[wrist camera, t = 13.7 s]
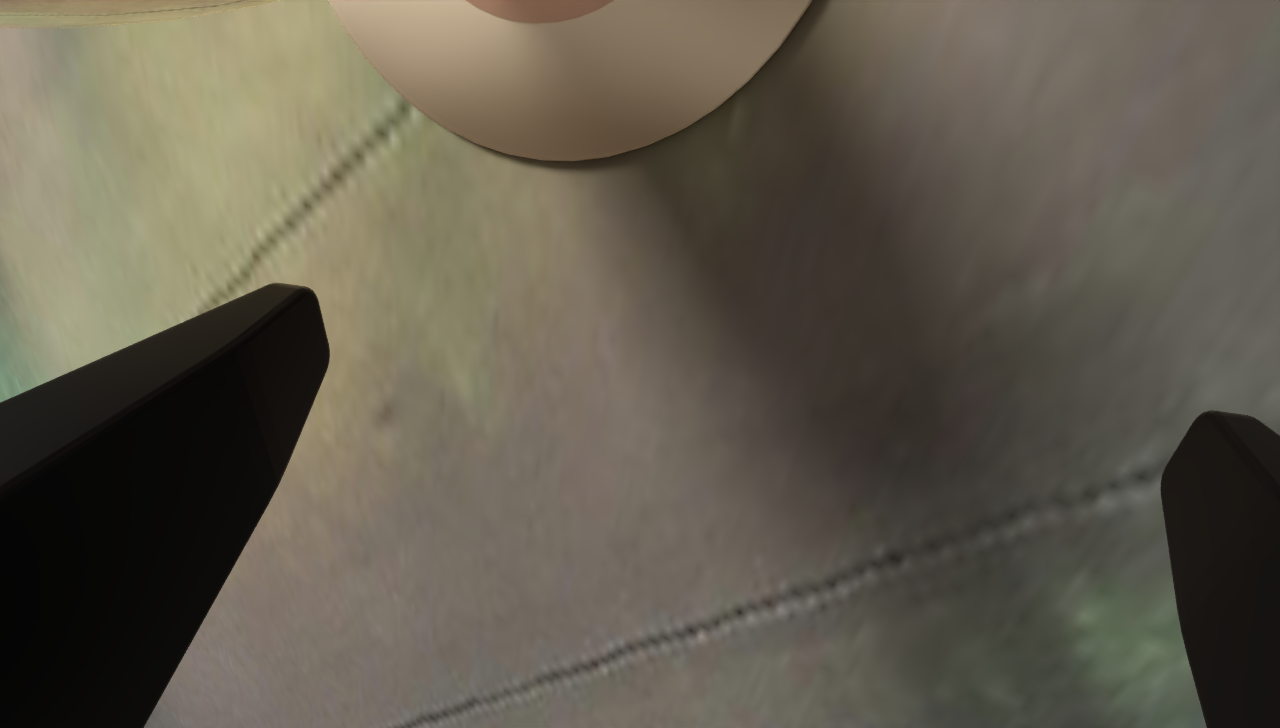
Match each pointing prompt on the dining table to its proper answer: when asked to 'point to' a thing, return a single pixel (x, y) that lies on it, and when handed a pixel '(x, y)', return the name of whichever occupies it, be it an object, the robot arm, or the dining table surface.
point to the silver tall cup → (108, 11)
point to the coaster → (567, 65)
